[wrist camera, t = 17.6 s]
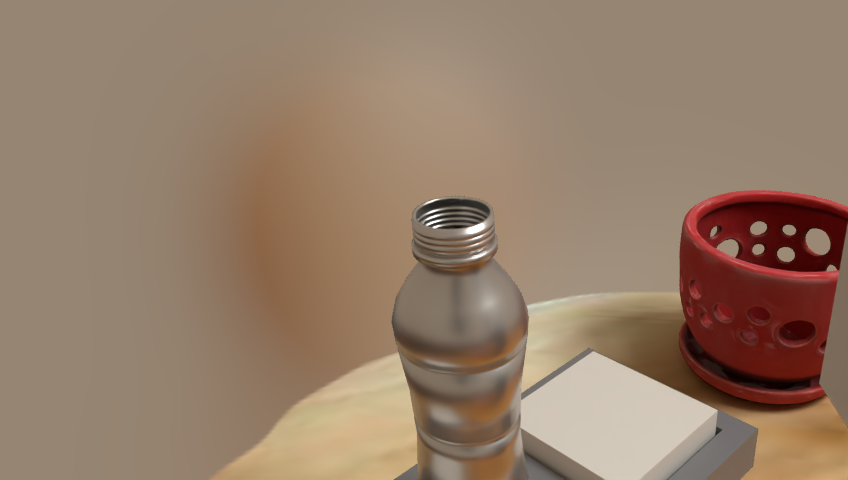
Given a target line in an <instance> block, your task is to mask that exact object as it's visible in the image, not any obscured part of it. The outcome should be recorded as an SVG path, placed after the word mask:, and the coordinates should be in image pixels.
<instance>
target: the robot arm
mask: <svg viewBox="0 0 848 480" xmlns="http://www.w3.org/2000/svg"><path fill="white" fill-rule="evenodd" d="M819 384H820V385H821V387H822V388H823V390H824V391H825V393H826V395H827V396H828V398H829V399H830V401H831V402H832V404H833V405H834V407H835V408H836V410H837V412H838V413H839V415H840V416H841V418H842V419H843V421H844V422H845V424H846V426H847V427H848V225H847V231H846V236H845V242H844V248H843V253H842V259H841V264H840V270H839V276H838V281H837V287H836V292H835V298H834V304H833V309H832V315H831V320H830V326H829V332H828V337H827V343H826V348H825V354H824V360H823V365H822V371H821V376H820V382H819Z"/></svg>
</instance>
